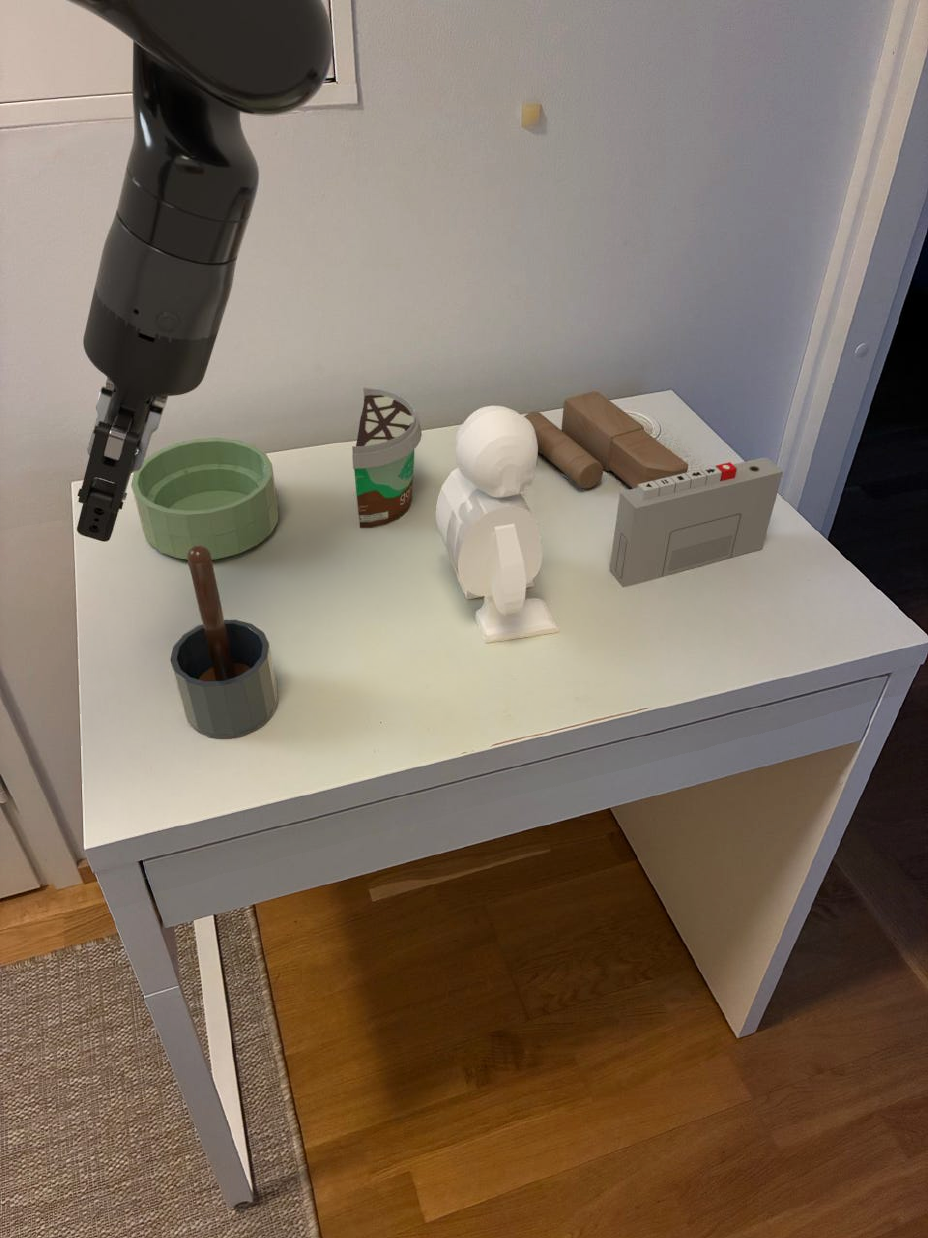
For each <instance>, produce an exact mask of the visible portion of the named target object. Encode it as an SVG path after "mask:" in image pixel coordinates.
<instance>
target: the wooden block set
mask: <svg viewBox="0 0 928 1238" xmlns="http://www.w3.org/2000/svg"><path fill="white" fill-rule="evenodd" d="M523 417H525V418H526V419H528V420H529V421H530V422H531V424H532V426H533V427H534V430H535V434H536V439H537V444H538V452H539V453H541V454H542V455H543V456H544V457H545V458H546V459H547V460H549V462H551V463H552V464H553V465H554V466H555V467H557V468H558V469H559V470H560V471H561V472H562V473H563V474H564V475H566V476H567V477H568V478H569V479H570V480H571V481H572V482H573V483H575V484H576V485H577V486H578V487H579V488H581V489H586V490H587V489H591V488H593V487H595V486H596V485H597V484H598V483H599V482H600V481H601V479H602V478H603V475H604V471H605V472H610V471H611V472H613V473H614V475H616V476H617V477H618V478H620V479H621V480H622V481H623V482H624V483H625V484H627V485H628V486H629V487H630V488H631V489H634V488H637V487H638V484H641V483H645V482H649V481H654V480H658V479H662V478H666V477H670V476H674V475H679V474H683V473H687V472H688V470H689V464H688V463H687V462H686V461H685V460H684V459H683V458H681V457H679V456H678V455H677V454H676V453H674V452H673V451H672V450H670V449H669V448H668V447H667V446H665V445H663V444H662V443H661V442H660V441H658V440H657V439H656V438H654V437H653V436H652V435H651V434H649V433H648V432H647V431H645V427H644V425H643V424H641V423H640V422H639V421H637V420H636V419H635V418H633V417H632V416H631V415H629V414H628V413H627V412H625V410H623V409H622V408H620V407H619V406H618V405H616V404H615V403H614V402H612V401H611V400H610V399H608V398H607V397H606V396H605V395H603V394H601V393H600V392H599V391H597V390H596V391H595V390H593V391H590V392H586V393H582V394H578V395H575V396H571V397H568V398H567V397H566V398H565V399H564V401H563V408H562V419H561V428H559V427H558V426H557V425H556V424H554V423H553V422H552V421H551V420H550V419H548V418H547V417H546V416H545V415H543V414H542V413H541V412H539V411H531V412H528V413H527V414H525V415H524V416H523Z"/></svg>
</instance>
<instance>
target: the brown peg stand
mask: <svg viewBox="0 0 928 1238" xmlns="http://www.w3.org/2000/svg"><path fill="white" fill-rule="evenodd" d="M186 560H187V562H188V567H189V571H190V576H191V580H192V584H193V588H194V592H195V597H196V600H197V606H198V609H199V610H198V611H199V614H200V618H201V624H203V628H204V632H205V636H206V641H207V645H208V649H209V654H210V658H211V662H212V666H213V667H212V668H210V669H208V670H207V671H206V672H204V673H203V674H202V676H201V677H200V678H199V680H202V681H205V682H208V681H225V680H228V679H231V678H234V677H237V676H240V675H242V674H243V673H245V672H246V671H248V670H249V669H251V668H250V667H249V666H247V665H244V664H241V663H233V659H232V654H231V650H230V645H229V640H228V635H227V631H226V626H225V621H224V620H225V618H224V612H223V607H222V603H221V597H220V593H219V588H218V584H217V579H216V574H215V570H214V564H213V559H211V555H210V552H209V550H208V549H207V548H206V547H204V546H201V545H196V546H193V547H192V548H191V549H190V550H189V551H188V554H187V559H186Z"/></svg>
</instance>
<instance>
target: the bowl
mask: <svg viewBox="0 0 928 1238" xmlns="http://www.w3.org/2000/svg"><path fill="white" fill-rule="evenodd" d="M132 474H133V475H132V479H131V485H130V486H131V490H132V493H133V498H134V501H135V505H136V509H137V512H138V517H139V520H140V524H141V527H142V531H143V533H144V537H145V539H146V541H147V543H148V544H150V545H151V546H152V547H153V548H154V549H155V550H156V551H158V552H159V553H162V554H164V555H167V556H170V557H172V558H175V559H180V560H188V559H187V554H188V551H189V550H190V549H191V548H192V547H193V546H196V545H201V546H204V547H206V548H207V549H208V550H209V552H210V555H211V559H212V560H219V559H220V560H221V559H224V558H228V557H231V556H235V555H239V554H242V553H244V552H246V551H248V550H250V549H253V548H254V547H256V546H258V545H260V544H261V543H262V542H263V541H264V540H266V538H267V537H269V536H270V535H271V534H272V533H273V531H274V529H275V527H276V525H277V524H278V522H279V503H278V496H277V488H276V482H275V476H274V475H275V474H274V467H273V464H272V462H271V460H270V458H269V457H268V454H267V453H265V451H263V450H262V449H260V448H259V447H257V446H255V444H254V445H253V444H251V443H248V442H245V441H241V440H239V439H231V438H222V437H209V438H195V439H190V440H186V441H182V442H177V443H174V444H171V445H170V446H169V445H168V446H167V447H164V448H162V449H160V450H157V451H155V452H154V453H153V454H151V455H150V456H148V457H147V458H146V459H144V461H143V464H142V467H141V469H140V470H138V471H134V472H133V473H132Z"/></svg>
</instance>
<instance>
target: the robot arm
mask: <svg viewBox="0 0 928 1238" xmlns="http://www.w3.org/2000/svg"><path fill="white" fill-rule="evenodd" d="M66 1H67V2H69V3H70V4H73V5H75V6H78V7H80V8H82V9H83V10H85V11H87V12H89V13H90V14H93V15H95V16H96V17H98V18H100V19H101V20H103V21H105V22H106V23H108V24H110V25H111V26H113V27H114V28H115V29H117V30H119V31H120V32H121V33H122V34H123V35H125V36H127V37H128V38H130V40H132V91H131V92H132V110H133V140H132V144H131V148H130V151H129V155H128V159H127V163H126V167H125V172H124V176H123V181H122V186H121V190H120V194H119V199H118V202H117V203H118V204H117V208H116V211H115V213H114V214H115V215H114V218H113V221H112V223H111V225H110V228H109V230H108V233H107V235H106V237H105V238H106V239H105V241H104V245H103V248H102V252H101V257H100V261H99V266H98V271H97V275H96V280H95V284H94V289H93V293H92V298H91V301H90V307H89V312H88V316H87V319H86V324H85V328H84V329H85V330H84V335H83V338H82V339H83V340H82V341H83V342H82V343H83V344H82V345H83V349H84V352H85V354H86V356H87V358H88V359H89V362H90V363H92V365H93V366H94V368H96V369H97V370H98V371H99V372H100V373H102V374H103V375H104V376H105V377H106V382H105V386H103V385H102V386H101V389H100V390H99V391H100V392H99V395H98V398H97V401H96V405H95V410H96V412H97V416H96V419H95V422H94V425H93V428H92V432H91V435H90V439H89V443H88V445H87V448H86V451H87V454H88V456H89V457H88V461H87V465H86V468H85V473H84V477H83V480H82V485H81V488H79V489H78V492H77V497H78V501H77V502H78V503H79V504H82V506H81V510H80V514H79V518H78V523H77V526H76V531H77V533H78V534H79V535H81V536H83V537H86V538H89V539H92V540H96V541H100V542H109V541H110V540H111V538H112V535H113V532H114V528H115V525H116V522H117V518H118V515H119V511H120V510H122V509H123V507H124V501H126V499H127V496H128V492H127V488H128V486H129V481H130V479H131V475H132V474H133V473H134V472H135V471H138V470H140V469H141V467H142V464H143V461H144V460H145V457H146V454H147V451H148V447H149V445H150V442H151V438H152V435H153V434H154V432H156V431H157V430H158V428H159V425H160V423H161V419H162V416H163V413H164V410H165V408H166V404H167V402H168V398H169V397H172V396H174V397H175V396H181V395H185V394H188V393H190V392H192V391H194V390H196V389H197V388H198V387H199V386H200V385H201V384H202V382H203V381H204V378H205V375H206V372H207V368H208V365H209V363H210V359H211V357H212V354H213V350H214V347H215V343H216V340H217V338H218V334H219V331H220V328H221V325H222V322H223V318H224V316H225V315H224V314H225V311H226V308H227V305H228V302H229V299H230V295H231V292H232V289H233V283H234V277H235V270H236V265H237V260H238V256H239V253H240V250H241V247H242V243H243V240H244V237H245V234H246V231H247V228H248V225H249V221H250V218H251V215H252V212H253V207H254V205H255V201H256V197H257V194H258V189H259V184H260V168H259V165H258V162H257V161H258V160H257V159H256V157H255V155H254V153H253V151H252V148H251V147H250V144H249V142H248V140H247V138H246V136H245V133H244V130H243V128H242V121H241V113H244V114H248V115H251V116H255V117H256V116H257V117H278V116H282V115H287V114H289V113H292V112H295V111H296V110H298V109H300V108H302V107H303V106H305V105H306V104H307V103H309V102H310V101H311V100H312V99H313V98H314V97H315V96H317V94H318V92H319V91H320V90H321V88H322V86H323V85H324V83H325V81H326V79H327V77H328V74H329V71H330V67H331V63H332V59H333V58H332V57H333V32H332V27H331V22H330V17H329V15H328V11H327V9H326V7H325V5H324V1H323V0H66Z"/></svg>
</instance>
